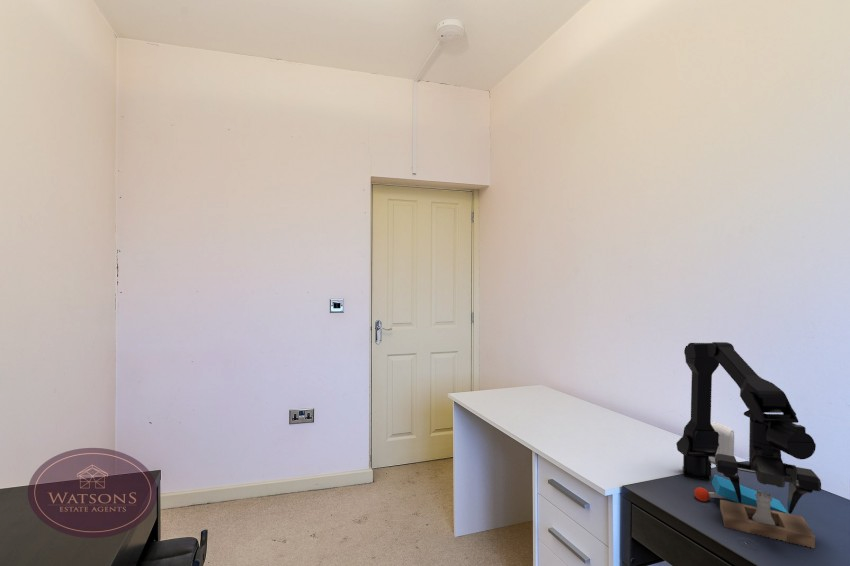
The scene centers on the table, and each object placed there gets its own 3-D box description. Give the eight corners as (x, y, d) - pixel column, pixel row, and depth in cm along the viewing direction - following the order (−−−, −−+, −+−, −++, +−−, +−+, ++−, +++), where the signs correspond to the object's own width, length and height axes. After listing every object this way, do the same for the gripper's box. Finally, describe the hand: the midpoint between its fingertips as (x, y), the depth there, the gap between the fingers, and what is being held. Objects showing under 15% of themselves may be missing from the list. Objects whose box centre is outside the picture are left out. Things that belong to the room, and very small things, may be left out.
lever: (769, 524, 108) (690, 491, 115) (778, 500, 107) (698, 468, 114) (778, 539, 102) (694, 503, 109) (788, 513, 101) (703, 478, 108)
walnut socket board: (724, 527, 98) (724, 516, 98) (719, 508, 106) (720, 499, 106) (814, 548, 91) (815, 537, 91) (802, 527, 98) (802, 516, 98)
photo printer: (736, 465, 132) (736, 426, 132) (730, 469, 129) (731, 429, 129) (699, 454, 140) (700, 417, 140) (694, 457, 137) (694, 419, 137)
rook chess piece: (779, 534, 96) (780, 499, 96) (757, 531, 97) (757, 496, 97) (769, 523, 100) (769, 489, 100) (747, 520, 101) (747, 487, 101)
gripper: (720, 444, 96) (719, 512, 96) (830, 462, 87) (829, 537, 87) (715, 429, 106) (714, 491, 106) (813, 444, 96) (812, 512, 96)
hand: (764, 507), depth 98 cm, fingers open, 9 cm apart
